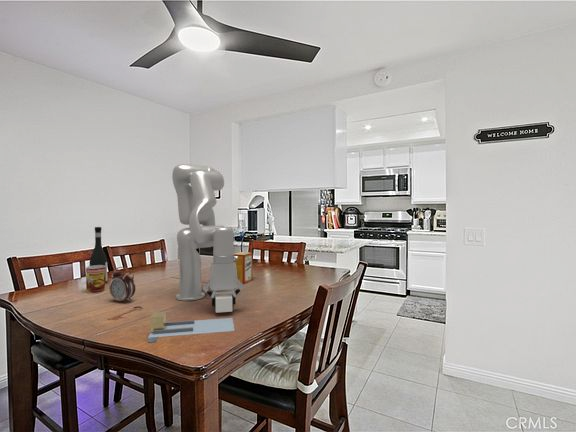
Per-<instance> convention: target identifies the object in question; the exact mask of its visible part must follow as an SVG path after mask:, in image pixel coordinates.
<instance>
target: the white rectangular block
mask: <svg viewBox="0 0 576 432" xmlns="http://www.w3.org/2000/svg"><path fill="white" fill-rule="evenodd" d="M215 297H216V308H215V313H228V312H230V313H231V312H233V308H232V292H231V291H218V292H216V294H215Z"/></svg>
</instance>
